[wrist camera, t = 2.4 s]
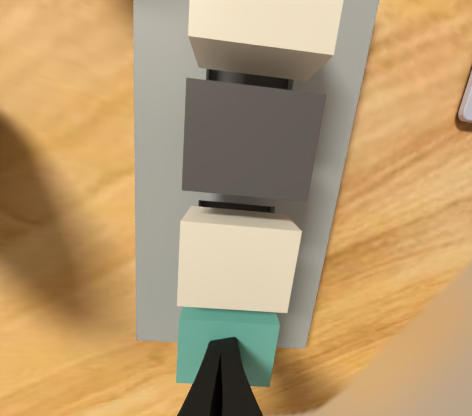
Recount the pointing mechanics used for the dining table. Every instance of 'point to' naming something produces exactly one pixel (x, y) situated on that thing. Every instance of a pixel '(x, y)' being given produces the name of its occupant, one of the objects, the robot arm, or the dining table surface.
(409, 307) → the dining table surface
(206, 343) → the teal key
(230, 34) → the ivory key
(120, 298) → the dining table surface
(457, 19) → the dining table surface
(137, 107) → the selector panel
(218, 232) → the middle ivory key
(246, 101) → the dark gray key
